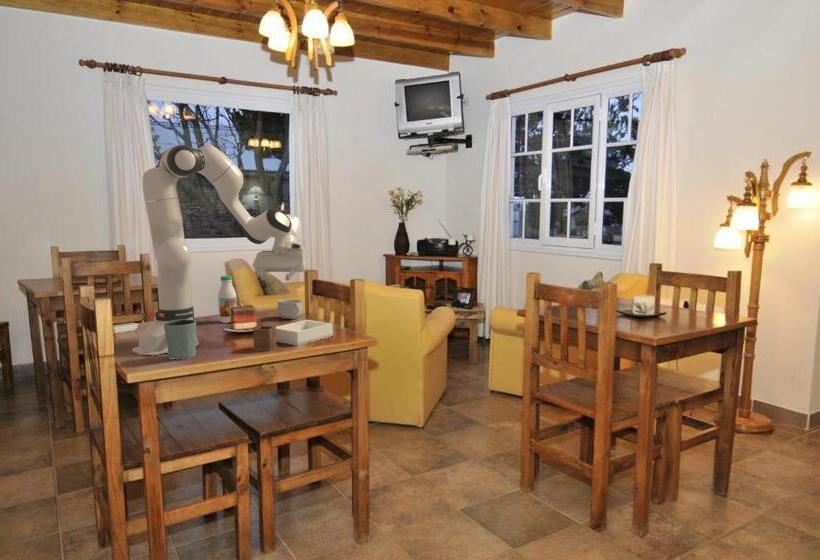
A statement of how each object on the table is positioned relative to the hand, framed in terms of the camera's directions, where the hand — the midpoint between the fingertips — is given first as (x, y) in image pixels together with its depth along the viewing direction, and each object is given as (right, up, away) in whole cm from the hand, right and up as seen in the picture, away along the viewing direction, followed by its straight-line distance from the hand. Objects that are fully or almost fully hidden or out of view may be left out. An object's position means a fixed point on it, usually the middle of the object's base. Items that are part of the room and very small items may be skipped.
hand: (275, 279), depth 222 cm
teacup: (-3, -18, +43) cm, 47 cm away
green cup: (-27, -26, -21) cm, 43 cm away
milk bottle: (-29, -19, +38) cm, 51 cm away
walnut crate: (-1, -25, -10) cm, 27 cm away
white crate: (+9, -22, +4) cm, 25 cm away
